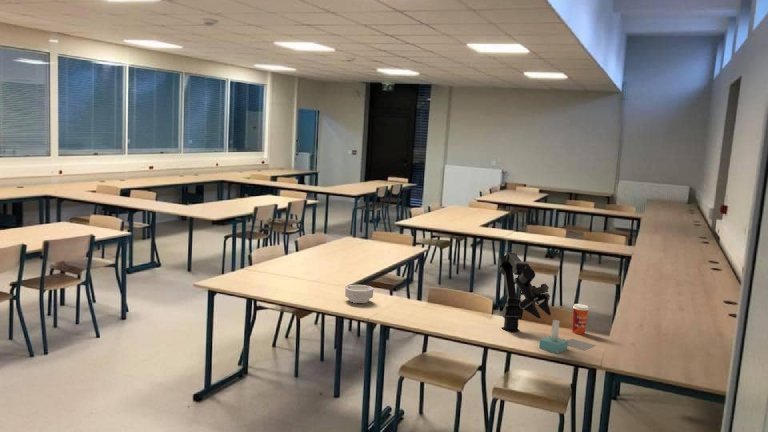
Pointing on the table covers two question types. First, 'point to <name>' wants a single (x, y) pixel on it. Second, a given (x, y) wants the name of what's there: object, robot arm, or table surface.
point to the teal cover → (554, 340)
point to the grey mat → (579, 344)
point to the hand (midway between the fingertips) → (545, 316)
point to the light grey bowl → (359, 293)
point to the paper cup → (579, 318)
